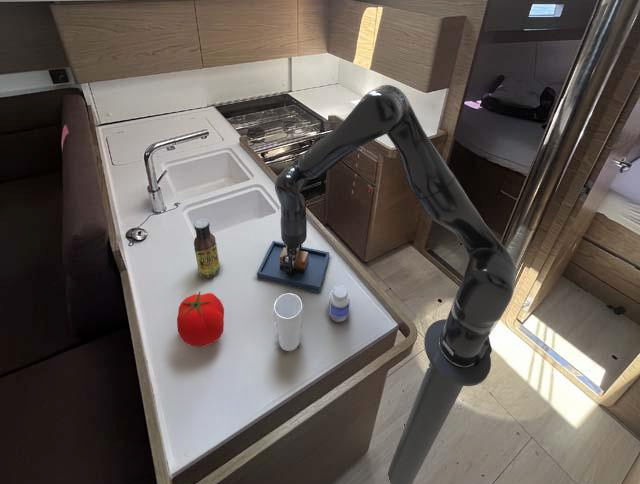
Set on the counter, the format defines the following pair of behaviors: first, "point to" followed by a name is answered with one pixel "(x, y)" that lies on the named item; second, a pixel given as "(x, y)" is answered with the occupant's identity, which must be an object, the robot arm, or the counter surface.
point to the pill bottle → (339, 303)
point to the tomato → (200, 319)
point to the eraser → (297, 261)
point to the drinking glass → (288, 320)
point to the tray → (305, 281)
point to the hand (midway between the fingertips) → (294, 264)
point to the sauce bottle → (206, 249)
